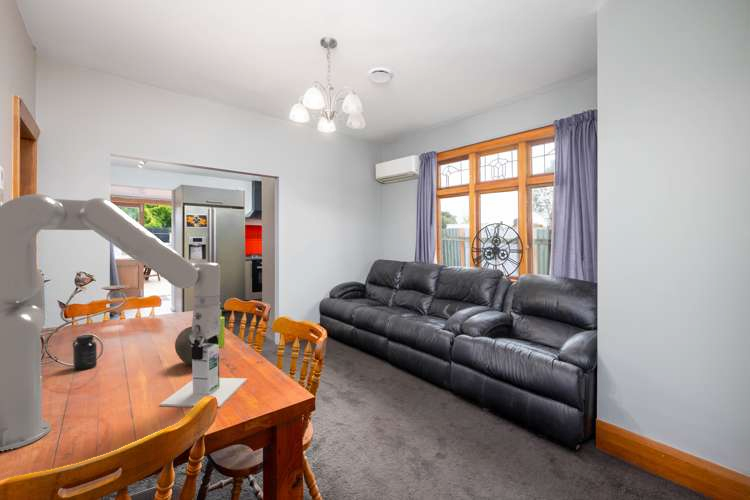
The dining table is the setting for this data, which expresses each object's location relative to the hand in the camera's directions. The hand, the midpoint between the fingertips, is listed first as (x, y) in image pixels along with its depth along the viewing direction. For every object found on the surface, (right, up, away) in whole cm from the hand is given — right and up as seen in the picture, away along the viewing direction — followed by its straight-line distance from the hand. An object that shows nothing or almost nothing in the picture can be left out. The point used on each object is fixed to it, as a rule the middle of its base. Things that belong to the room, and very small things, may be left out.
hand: (205, 354), depth 111 cm
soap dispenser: (-19, -11, +48) cm, 53 cm away
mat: (0, -12, +1) cm, 12 cm away
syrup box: (0, -12, 0) cm, 12 cm away
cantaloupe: (-16, -12, +25) cm, 32 cm away
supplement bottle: (-55, -11, +20) cm, 60 cm away
